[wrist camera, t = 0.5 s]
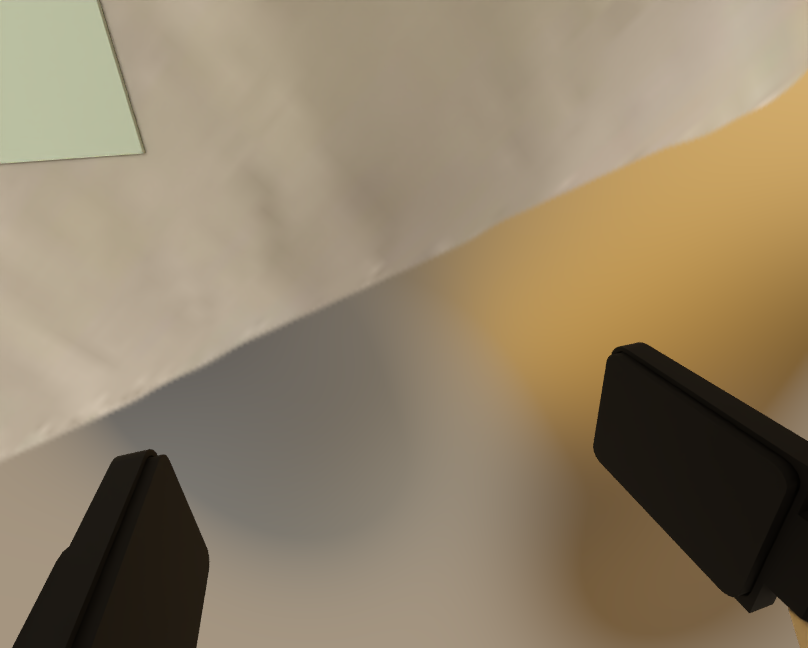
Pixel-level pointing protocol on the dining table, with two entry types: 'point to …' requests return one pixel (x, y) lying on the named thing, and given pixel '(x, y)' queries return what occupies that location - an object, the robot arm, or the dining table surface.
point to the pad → (61, 84)
